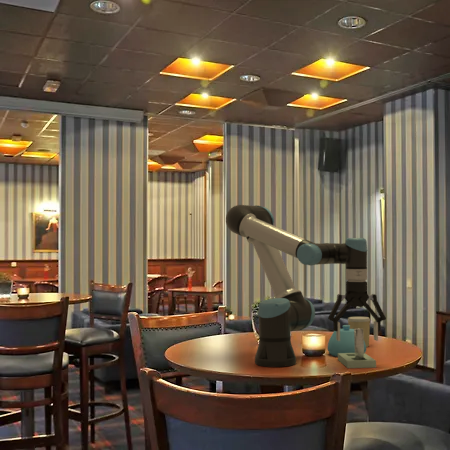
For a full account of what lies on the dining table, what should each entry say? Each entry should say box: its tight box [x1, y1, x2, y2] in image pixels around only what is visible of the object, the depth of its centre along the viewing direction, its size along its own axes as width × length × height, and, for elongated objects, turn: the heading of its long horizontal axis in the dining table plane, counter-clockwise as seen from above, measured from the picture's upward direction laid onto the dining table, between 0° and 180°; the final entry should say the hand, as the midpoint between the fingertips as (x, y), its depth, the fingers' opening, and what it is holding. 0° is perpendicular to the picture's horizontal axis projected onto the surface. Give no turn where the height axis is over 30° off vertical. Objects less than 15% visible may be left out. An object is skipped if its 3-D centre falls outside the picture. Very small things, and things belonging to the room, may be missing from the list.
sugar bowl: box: [327, 324, 367, 358], centre depth 236 cm, size 15×15×12 cm
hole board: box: [337, 352, 377, 369], centre depth 217 cm, size 10×16×2 cm, turn 2°
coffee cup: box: [347, 316, 371, 348], centre depth 255 cm, size 9×9×12 cm
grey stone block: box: [354, 329, 364, 360], centre depth 213 cm, size 3×3×13 cm
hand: (357, 340), depth 214 cm, fingers open, 13 cm apart
